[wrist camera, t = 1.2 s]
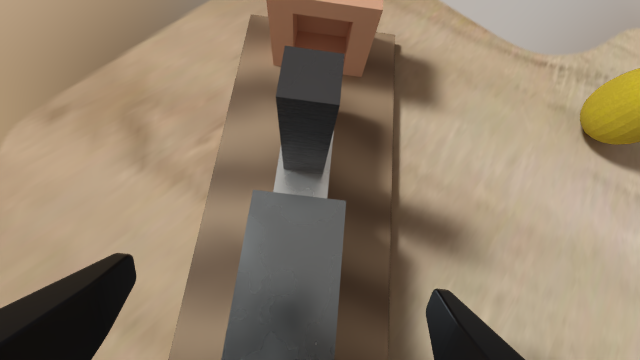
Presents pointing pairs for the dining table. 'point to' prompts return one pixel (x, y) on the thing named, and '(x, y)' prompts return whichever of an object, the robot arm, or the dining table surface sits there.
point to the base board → (259, 174)
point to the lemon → (614, 110)
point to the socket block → (325, 28)
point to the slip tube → (307, 119)
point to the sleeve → (287, 279)
